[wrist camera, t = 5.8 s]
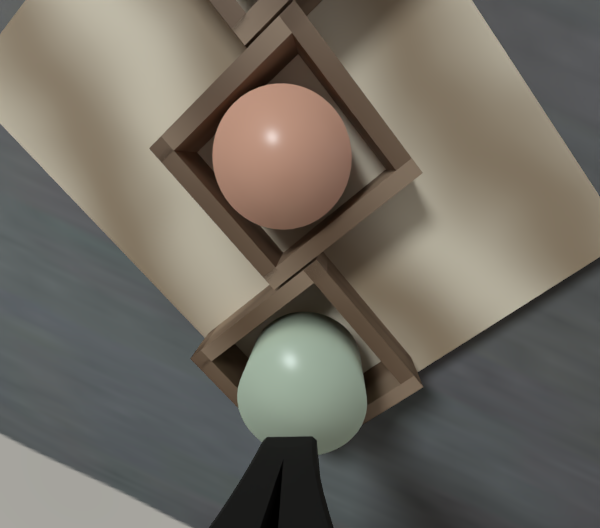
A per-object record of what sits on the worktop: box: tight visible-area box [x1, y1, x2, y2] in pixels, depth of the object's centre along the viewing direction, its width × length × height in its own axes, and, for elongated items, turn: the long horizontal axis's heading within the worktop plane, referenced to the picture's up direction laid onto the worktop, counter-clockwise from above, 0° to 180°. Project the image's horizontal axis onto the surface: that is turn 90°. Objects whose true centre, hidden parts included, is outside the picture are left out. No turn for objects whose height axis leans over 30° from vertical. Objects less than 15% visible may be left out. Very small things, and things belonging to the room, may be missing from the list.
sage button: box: [237, 312, 367, 455], centre depth 13 cm, size 4×4×3 cm
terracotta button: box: [212, 83, 352, 230], centre depth 13 cm, size 4×4×3 cm
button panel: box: [0, 0, 600, 425], centre depth 13 cm, size 16×21×3 cm
